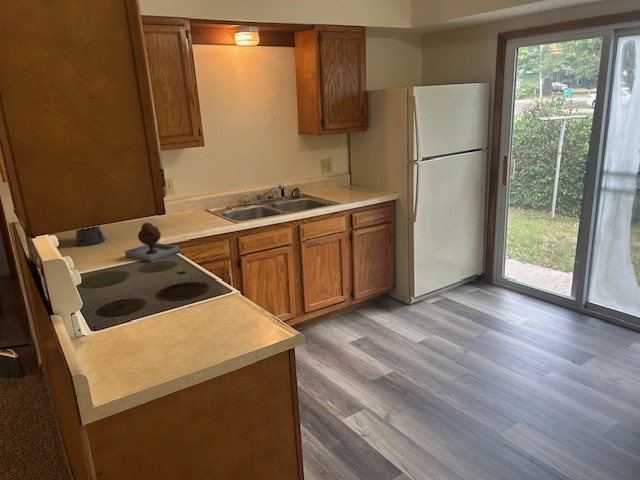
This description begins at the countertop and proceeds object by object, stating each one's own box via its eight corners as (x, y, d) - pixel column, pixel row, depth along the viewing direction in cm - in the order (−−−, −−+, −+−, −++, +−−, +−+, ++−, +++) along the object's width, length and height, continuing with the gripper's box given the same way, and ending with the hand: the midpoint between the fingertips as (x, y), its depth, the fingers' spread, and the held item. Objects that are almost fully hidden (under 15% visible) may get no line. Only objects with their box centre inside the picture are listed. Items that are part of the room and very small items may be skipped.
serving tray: (125, 256, 235) (124, 251, 235) (154, 247, 249) (153, 242, 248) (151, 262, 224) (150, 256, 224) (180, 252, 238) (179, 246, 237)
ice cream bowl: (135, 255, 233) (131, 225, 229) (148, 249, 243) (143, 220, 239) (155, 256, 230) (151, 225, 226) (167, 249, 241) (163, 220, 237)
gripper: (88, 140, 244) (96, 181, 249) (118, 139, 230) (125, 183, 236) (102, 139, 250) (109, 179, 255) (131, 138, 236) (138, 181, 242)
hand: (116, 181), depth 245 cm, fingers open, 13 cm apart
